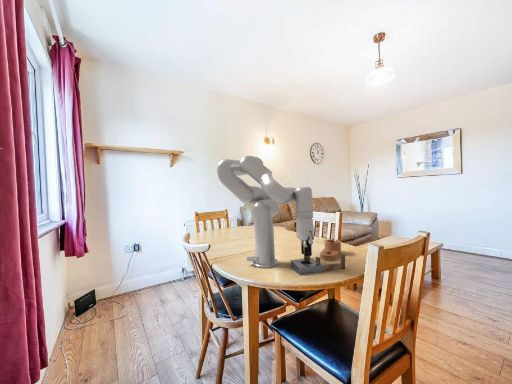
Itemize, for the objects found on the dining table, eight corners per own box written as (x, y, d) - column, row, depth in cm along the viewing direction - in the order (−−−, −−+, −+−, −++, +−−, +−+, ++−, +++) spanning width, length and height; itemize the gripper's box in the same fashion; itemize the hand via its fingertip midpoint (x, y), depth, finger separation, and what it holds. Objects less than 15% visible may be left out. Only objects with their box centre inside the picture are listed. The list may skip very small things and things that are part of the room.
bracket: (327, 250, 134) (326, 238, 134) (342, 252, 130) (341, 240, 130) (318, 260, 119) (317, 246, 118) (335, 262, 114) (334, 248, 114)
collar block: (299, 274, 100) (299, 268, 100) (290, 266, 110) (290, 260, 110) (323, 272, 102) (323, 265, 102) (312, 263, 113) (312, 257, 112)
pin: (305, 261, 104) (304, 239, 104) (303, 259, 107) (301, 238, 107) (311, 260, 105) (310, 238, 104) (308, 259, 107) (307, 237, 107)
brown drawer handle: (317, 272, 102) (316, 258, 102) (315, 270, 104) (314, 257, 104) (346, 268, 104) (346, 255, 104) (343, 267, 106) (343, 254, 106)
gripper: (290, 213, 113) (292, 251, 113) (303, 217, 97) (306, 261, 97) (305, 212, 114) (307, 249, 114) (320, 215, 98) (322, 259, 98)
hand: (306, 254), depth 106 cm, fingers closed on pin, 2 cm apart
